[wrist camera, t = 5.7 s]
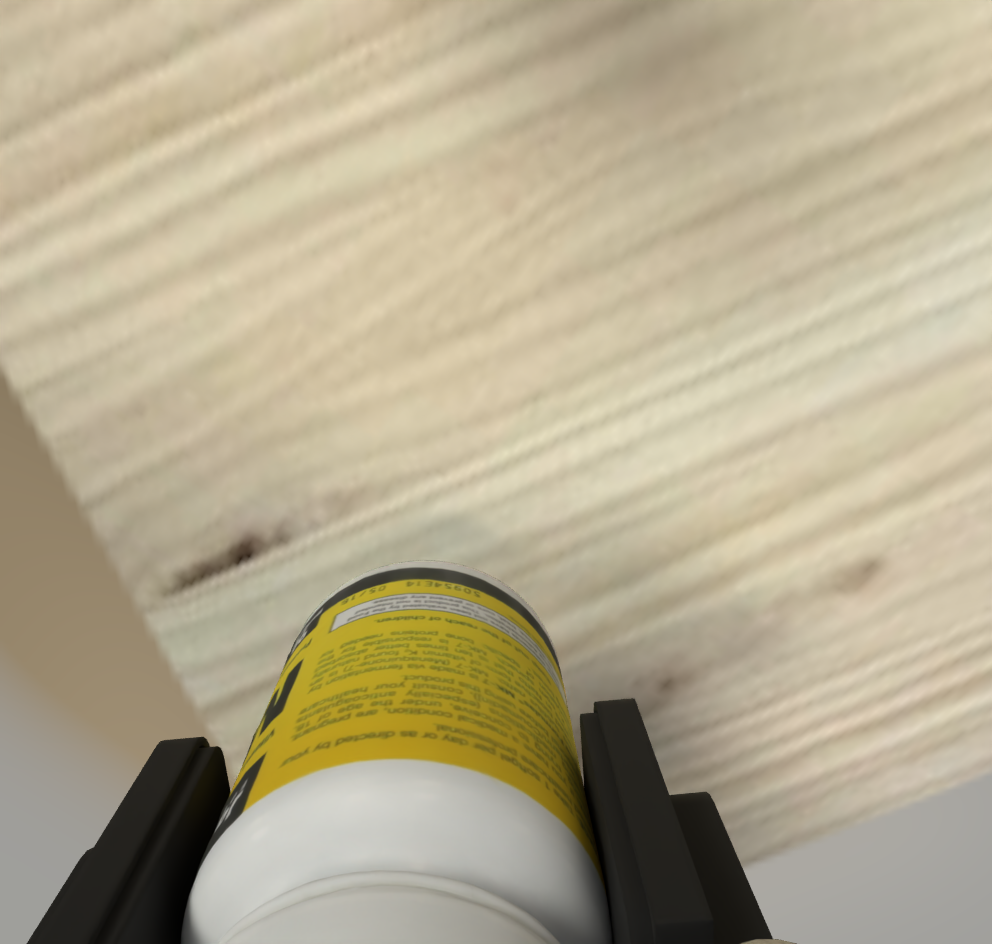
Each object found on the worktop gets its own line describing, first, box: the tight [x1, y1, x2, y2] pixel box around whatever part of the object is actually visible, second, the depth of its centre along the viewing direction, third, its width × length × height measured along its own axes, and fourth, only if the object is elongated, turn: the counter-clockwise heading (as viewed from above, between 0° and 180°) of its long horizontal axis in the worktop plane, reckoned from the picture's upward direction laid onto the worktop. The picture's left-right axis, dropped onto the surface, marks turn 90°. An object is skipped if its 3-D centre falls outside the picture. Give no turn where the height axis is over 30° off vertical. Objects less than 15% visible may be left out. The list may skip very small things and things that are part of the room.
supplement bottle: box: [181, 560, 613, 944], centre depth 11 cm, size 5×5×8 cm
